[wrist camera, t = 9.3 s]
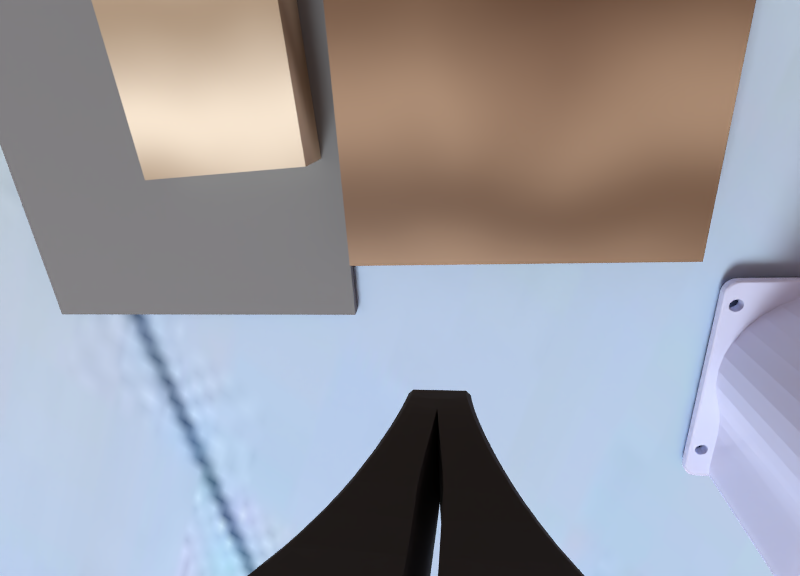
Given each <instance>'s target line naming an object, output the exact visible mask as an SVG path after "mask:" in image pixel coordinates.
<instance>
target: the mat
mask: <svg viewBox="0 0 800 576" xmlns="http://www.w3.org/2000/svg"><path fill="white" fill-rule="evenodd" d="M297 5H298V12H299V18H300V25H301V31H302V38H303V44H304V51H305V57H306V63H307V70H308V76H309V83H310V89H311V96H312V102H313V109H314V115H315V121H316V128H317V134H318V141H319V147H320V154H321V159H320V160H318V161H316V162H314V163H312V164H310V165H308V166H306V167H295V168H283V169H272V170H260V171H248V172H236V173H224V174H213V175H201V176H189V177H177V178H165V179H154V180H145V179H144V175H143V172H142V168H141V165H140V162H139V158H138V155H137V152H136V148H135V145H134V142H133V138H132V135H131V132H130V128H129V125H128V122H127V118H126V115H125V111H124V108H123V105H122V101H121V98H120V95H119V91H118V88H117V85H116V81H115V78H114V75H113V71H112V68H111V64H110V61H109V58H108V54H107V51H106V48H105V44H104V41H103V38H102V34H101V31H100V28H99V24H98V21H97V18H96V14H95V11H94V7H93V4H92V1H91V0H0V145H1V148H2V150H3V153H4V156H5V159H6V161H7V164H8V167H9V170H10V172H11V175H12V178H13V181H14V183H15V186H16V189H17V191H18V194H19V197H20V200H21V202H22V205H23V208H24V211H25V213H26V216H27V219H28V222H29V224H30V227H31V230H32V233H33V235H34V238H35V241H36V244H37V246H38V249H39V252H40V255H41V257H42V260H43V263H44V266H45V268H46V271H47V274H48V277H49V279H50V282H51V285H52V287H53V290H54V293H55V296H56V298H57V301H58V304H59V307H60V309H61V312H62V314H307V315H355V314H356V312H357V304H356V294H355V284H354V274H353V266H350V263H349V253H348V243H347V233H346V223H345V213H344V203H343V193H342V183H341V173H340V163H339V153H338V143H337V133H336V123H335V113H334V103H333V93H332V84H331V74H330V64H329V54H328V44H327V34H326V24H325V14H324V4H323V0H297Z"/></svg>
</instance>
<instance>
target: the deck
mask: <svg viewBox="0 0 800 576" xmlns="http://www.w3.org/2000/svg"><path fill="white" fill-rule="evenodd" d="M755 3H756V0H323V4H324V14H325V24H326V34H327V44H328V54H329V64H330V74H331V84H332V93H333V103H334V113H335V123H336V133H337V143H338V153H339V163H340V173H341V183H342V193H343V203H344V213H345V223H346V233H347V243H348V253H349V263H350V266H373V265H457V264H541V263H625V262H703V258H704V253H705V248H706V243H707V238H708V233H709V228H710V223H711V218H712V213H713V209H714V204H715V199H716V194H717V189H718V184H719V179H720V174H721V169H722V164H723V160H724V155H725V150H726V145H727V140H728V135H729V130H730V125H731V120H732V115H733V111H734V106H735V101H736V96H737V91H738V86H739V81H740V76H741V71H742V66H743V62H744V57H745V52H746V47H747V42H748V37H749V32H750V27H751V22H752V17H753V13H754V8H755Z"/></svg>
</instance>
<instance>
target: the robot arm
mask: <svg viewBox="0 0 800 576" xmlns="http://www.w3.org/2000/svg"><path fill="white" fill-rule="evenodd" d="M737 299H738V303H737V305H735V306H734V307H730V308H729V305H730V303H731V302H732V301H733V300H737ZM700 445H703V446H702V447H700V448H696V447H698V446H700ZM682 465H683V467H684V469H685V470H686V472H687V473H689V474H691V475H701V476H710V478H711V479H712V481H713V483H714V484H715V486H716V487H717V489H718V490H719V492H720V493H721V495H722V496H723V498H724V499H725V501H726V503H727V504H728V506H729V507H730V509H731V510H732V512H733V513H734V515H735V516H736V518H737V520H738V521H739V523H740V524H741V526H742V527H743V529H744V530H745V532H746V533H747V535H748V537H749V538H750V540H751V541H752V543H753V544H754V546H755V547H756V549H757V550H758V552H759V553H760V555H761V557H762V558H763V560H764V561H765V563H766V564H767V566H768V567H769V569H770V570H771V572H772V574H773V575H774V576H800V278H734V279H731V280H729V281H727V282H726V283H725V284H724V285H723V286H722V288H721V290H720V295H719V299H718V304H717V308H716V312H715V317H714V321H713V326H712V330H711V335H710V339H709V344H708V348H707V352H706V357H705V361H704V366H703V370H702V375H701V379H700V384H699V388H698V392H697V397H696V401H695V406H694V410H693V415H692V419H691V424H690V428H689V432H688V437H687V441H686V446H685V450H684V455H683V459H682ZM439 505H440V511H441V538H440V555H439V570H438V576H584V575H583V574H582V573H581V572H580V570H579V569H578V568H577V567H576V566H575V565H574V564H573V563H572V561H571V560H570V559H569V558H568V557H567V556H566V555H565V554H564V552H563V551H562V550H561V549H560V548H559V547H558V546H557V544H556V543H555V542H554V541H553V539H552V538H551V537H550V536H549V534H548V533H547V532H546V530H545V529H544V528H543V527H542V525H541V524H540V523H539V522H538V520H537V519H536V517H535V516H534V515H533V513H532V512H531V511H530V509H529V508H528V507H527V505H526V504H525V502H524V501H523V499H522V498H521V496H520V495H519V493H518V492H517V490H516V489H515V487H514V486H513V484H512V483H511V481H510V479H509V478H508V476H507V474H506V473H505V471H504V470H503V468H502V466H501V464H500V463H499V461H498V459H497V457H496V455H495V453H494V452H493V450H492V448H491V446H490V444H489V442H488V440H487V438H486V436H485V434H484V432H483V430H482V427H481V425H480V423H479V420H478V418H477V415H476V413H475V410H474V407H473V403H472V400H471V395H470V394H469V393H468V392H467V391H448V390H412V391H411V392H410V393H409V394H408V396H407V399H406V401H405V403H404V404H403V406H402V408H401V410H400V412H399V413H398V415H397V417H396V418H395V420H394V422H393V423H392V425H391V427H390V428H389V430H388V431H387V433H386V434H385V436H384V437H383V438H382V440H381V441H380V443H379V444H378V446H377V447H376V449H375V450H374V451H373V453H372V454H371V455H370V457H369V458H368V459H367V460H366V462H365V463H364V464H363V466H362V467H361V468H360V469H359V471H358V472H357V473H356V475H355V476H354V477H353V478H352V479H351V481H350V482H349V483H348V484H347V485H346V486H345V487H344V489H343V490H342V491H341V492H340V493H339V494H338V495H337V496H336V497H335V498H334V499H333V501H332V502H331V503H330V504H329V505H328V506H327V507H326V508H325V509H324V510H323V511H322V512H321V513H320V514H319V515H318V516H317V517H316V518H315V519H314V520H313V521H311V522H310V523H309V524H308V525H307V526H306V527H305V528H304V529H303V530H302V531H301V532H300V533H299V534H298V535H297V536H295V537H294V538H293V539H292V540H291V541H290V542H289V543H288V544H286V545H285V546H284V547H283V548H282V549H280V550H279V551H278V552H277V553H275V554H274V555H273V556H272V557H270V558H269V559H268V560H267V561H265V562H264V563H263V564H262V565H260V566H259V567H258V568H257V569H255V570H254V571H253V572H252V573H250V574H249V575H248V576H430V573H431V565H432V558H433V550H434V543H435V535H436V528H437V520H438V513H439Z"/></svg>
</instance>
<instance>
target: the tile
mask: <svg viewBox="0 0 800 576" xmlns="http://www.w3.org/2000/svg"><path fill="white" fill-rule="evenodd" d="M91 1H92V4H93V7H94V11H95V14H96V18H97V21H98V24H99V28H100V31H101V34H102V38H103V41H104V44H105V48H106V51H107V54H108V58H109V61H110V64H111V68H112V71H113V75H114V78H115V81H116V85H117V88H118V91H119V95H120V98H121V101H122V105H123V108H124V111H125V115H126V118H127V122H128V125H129V128H130V132H131V135H132V138H133V142H134V145H135V148H136V152H137V155H138V158H139V162H140V165H141V168H142V172H143V175H144V179H145V180H154V179H165V178H177V177H189V176H201V175H213V174H224V173H236V172H248V171H260V170H272V169H283V168H295V167H306V166H308V165H310V164H312V163H314V162H316V161H318V160H320V159H321V154H320V147H319V141H318V134H317V128H316V121H315V115H314V109H313V102H312V96H311V89H310V83H309V76H308V70H307V63H306V57H305V51H304V44H303V38H302V31H301V25H300V18H299V12H298V5H297V0H91Z"/></svg>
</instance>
